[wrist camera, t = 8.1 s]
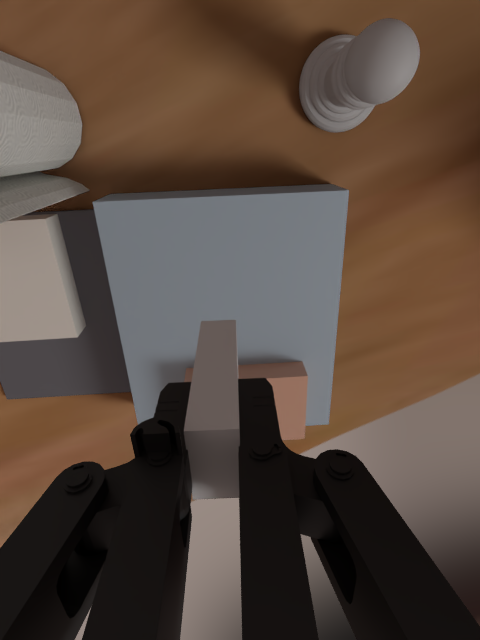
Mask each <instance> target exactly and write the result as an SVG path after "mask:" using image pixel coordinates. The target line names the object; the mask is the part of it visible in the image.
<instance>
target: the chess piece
mask: <svg viewBox="0 0 480 640" xmlns="http://www.w3.org/2000/svg"><path fill="white" fill-rule="evenodd" d="M419 58H420V49H419V43H418V40H417V37H416V35H415V33H414V32H413V30H412V29H411V28H410V27H409V26H408V25H407V24H405V23H404V22H402V21H400V20H397V19H392V18H387V19H381V20H378V21H376V22H374V23H372V24H371V25H369V26H368V27H367V28H365V29H364V30H363V31H362V32H361V33H360V34H359V35H358V36H353V35H337V36H334V37H331V38H329V39H327V40H325V41H323V42H322V43H321V44H319V45H318V46H317V47H316V48H315V49H314V50H313V52H312V53H311V54H310V56H309V57H308V59H307V60H306V62H305V64H304V67H303V70H302V73H301V77H300V83H299V95H300V101H301V105H302V108H303V110H304V112H305V114H306V116H307V117H308V119H309V120H310V121H311V122H312V123H313V124H314V125H315V126H317V127H318V128H320V129H322V130H325V131H328V132H343V131H347V130H350V129H352V128H354V127H356V126H357V125H359V124H360V123H361V122H362V121H364V120H365V119H366V117H367V116H368V115H369V114H370V113H371V111H372V110H373V108H374V106H375V105H377V104H381V103H385V102H387V101H389V100H391V99H393V98H394V97H396V96H397V95H398V94H400V93H401V92H402V91H403V90H404V89H405V88H406V86H407V85H408V84H409V83H410V81H411V80H412V78H413V76H414V74H415V72H416V70H417V67H418V63H419Z"/></svg>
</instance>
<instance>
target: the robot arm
mask: <svg viewBox="0 0 480 640" xmlns="http://www.w3.org/2000/svg"><path fill="white" fill-rule="evenodd" d="M130 436H131V441H132V445H133V450H134V454H135V459H133V460H131V461H130V462H128V463H125V464H123V465H120V466H117V467H114V468H111V469H107V470H104V469H103V468H102V466H101V465H100V464H98V463H95V462H81V463H78V464H74V465H72V466H70V467H69V468H67V469H65V470H64V471H63V472H62V473H61V474H59V475H58V476H57V477H56V479H55V480H54V481H53V482H52V484H51V485H50V486H49V487H48V489H47V490H46V491H45V492H44V494H43V495H42V496H41V497H40V499H39V500H38V501H37V503H36V504H35V505H34V506H33V508H32V509H31V510H30V511H29V513H28V514H27V515H26V516H25V518H24V519H23V520H22V522H21V523H20V524H19V525H18V527H17V528H16V529H15V530H14V532H13V533H12V534H11V535H10V537H9V538H8V539H7V541H6V542H5V543H4V544H3V546H2V547H1V548H0V640H74V639H75V638H76V636H77V634H78V632H79V630H80V628H81V626H82V624H83V621H84V620H85V618H86V616H87V614H88V612H89V610H90V608H91V610H90V614H89V617H88V621H87V624H86V627H85V631H84V635H83V638H82V640H180V632H181V623H182V613H183V602H184V593H185V582H186V572H187V562H188V552H189V542H190V531H191V521H192V514H191V506H190V503H191V494H192V496H193V500H194V499H213V498H214V499H216V498H239V507H240V553H241V596H242V597H241V600H242V640H319V639H318V633H317V627H316V621H315V616H314V610H313V604H312V598H311V593H310V587H309V582H308V575H307V569H306V564H305V558H304V552H303V547H302V541H301V535H300V534H303V535H306V536H309V537H311V540H312V542H313V544H314V547H315V549H316V551H317V553H318V555H319V557H320V560H321V562H322V564H323V566H324V569H325V571H326V573H327V575H328V578H329V580H330V582H331V584H332V586H333V589H334V591H335V593H336V595H337V598H338V600H339V602H340V604H341V606H342V609H343V611H344V613H345V615H346V618H347V620H348V622H349V624H350V626H351V629H352V631H353V633H354V635H355V637H356V640H480V626H479V625H478V623H477V622H476V620H475V619H474V618H473V616H472V615H471V613H470V612H469V611H468V609H467V608H466V606H465V605H464V604H463V602H462V601H461V599H460V598H459V597H458V595H457V594H456V593H455V591H454V590H453V588H452V587H451V586H450V584H449V583H448V581H447V580H446V579H445V577H444V576H443V574H442V573H441V572H440V570H439V569H438V567H437V566H436V565H435V563H434V562H433V561H432V559H431V558H430V556H429V555H428V553H427V552H426V551H425V549H424V548H423V546H422V545H421V544H420V542H419V541H418V540H417V538H416V537H415V535H414V534H413V533H412V531H411V530H410V529H409V527H408V526H407V524H406V523H405V521H404V520H403V519H402V517H401V516H400V514H399V513H398V512H397V510H396V509H395V508H394V506H393V505H392V503H391V502H390V500H389V499H388V498H387V496H386V495H385V493H384V492H383V491H382V489H381V488H380V486H379V485H378V484H377V482H376V481H375V480H374V478H373V477H372V475H371V474H370V473H369V472H368V470H367V468H366V467H365V466H364V464H363V463H362V462H361V461H360V460H359V459H358V458H357V457H356V456H354V455H353V454H351V453H349V452H347V451H342V450H327V451H325V452H323V453H321V454H320V455H319V456H318V457H317V458H316V459H314V458H309V457H305V456H302V455H299V454H296V453H294V452H293V451H291V450H290V449H289V448H287V447H286V446H285V444H284V443H283V441H282V438H281V434H280V429H279V423H278V417H277V411H276V406H275V399H274V393H273V387H272V385H271V384H270V383H269V382H268V380H267V379H266V378H247V379H238V355H237V333H236V320H217V321H201V325H200V331H199V337H198V344H197V350H196V356H195V363H194V369H193V375H192V382H175V383H168V384H167V385H166V386H165V387H164V388H163V389H162V391H161V392H160V395H159V399H158V404H157V406H156V410H155V413H154V417H153V418H150V419H147V420H145V421H143V422H141V423H140V424H139V425H137V426H136V427H135V428H134V429H133V431H132V433H131V434H130ZM91 606H92V607H91Z"/></svg>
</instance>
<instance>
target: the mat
mask: <svg viewBox="0 0 480 640" xmlns="http://www.w3.org/2000/svg"><path fill="white" fill-rule="evenodd" d="M44 214H58V218H59V222H60V226H61V230H62V234H63V238H64V241H65V245H66V249H67V253H68V257H69V261H70V265H71V269H72V273H73V277H74V281H75V285H76V288H77V292H78V296H79V300H80V304H81V308H82V312H83V316H84V320H85V324H86V327H85V328H84V329H83V331H82V332H81V333H80V335H79V336H78V337H76V338H60V339H44V340H28V341H12V342H0V382H1V385H2V387H3V390H4V392H5V395H6V398H7V399H21V398H37V397H54V396H70V395H87V394H103V393H120V392H131V387H130V382H129V378H128V373H127V368H126V363H125V358H124V353H123V348H122V343H121V339H120V334H119V329H118V324H117V319H116V314H115V309H114V304H113V299H112V295H111V290H110V285H109V280H108V275H107V270H106V265H105V260H104V256H103V251H102V246H101V241H100V236H99V231H98V226H97V221H96V216H95V212H94V209H89V210H68V211H46V212H30V213H27V214H25V215H22V216H26V215H44Z"/></svg>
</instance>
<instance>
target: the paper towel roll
mask: <svg viewBox="0 0 480 640" xmlns="http://www.w3.org/2000/svg"><path fill="white" fill-rule="evenodd" d="M81 134H82V121H81V117H80V114H79V110H78V106H77V103H76V102H75V100H74V99H73V97H72V96H71V94H70V93H69V91H68V90H67V88H66V86H65V85H64V84H63V83H62V82H61V81H59V80H58V79H57V78H56V77H54V76H53V75H52V74H50V73H49V72H48V71H47V70H45V69H42V68H40V67H38V66H35V65H33V64H31V63H28V62H26V61H23V60H21V59H19V58H16V57H14V56H12V55H9V54H7V53H4V52H2V51H0V223H3V222H6V221H8V220H11V219H14V218H16V217H19V216H22V215H25V214H27V213H30V212H33V211H36V210H38V209H41V208H44V207H47V206H49V205H52V204H55V203H58V202H60V201H63V200H66V199H68V198H71V197H74V196H77V195H79V194H82V193H85V192H88V191H89V189H88V188H86V187H85V186H84V185H82V184H81V183H78V182H76V181H73V180H71V179H68V178H65V177H59V176H54V175H48V174H44V173H42V172H40V171H42V170H49V169H55V168H59V167H61V166H62V165H64V164H65V163H67V162H68V161H69V160H71V159H72V158H73V156H74V154H75V153H76V151H77V149H78V147H79V145H80V144H81Z"/></svg>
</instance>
